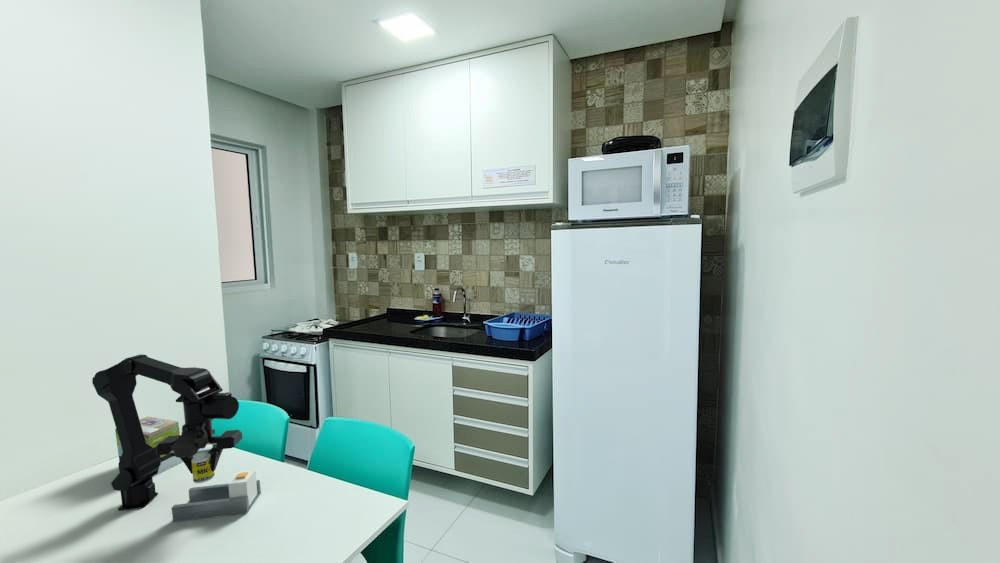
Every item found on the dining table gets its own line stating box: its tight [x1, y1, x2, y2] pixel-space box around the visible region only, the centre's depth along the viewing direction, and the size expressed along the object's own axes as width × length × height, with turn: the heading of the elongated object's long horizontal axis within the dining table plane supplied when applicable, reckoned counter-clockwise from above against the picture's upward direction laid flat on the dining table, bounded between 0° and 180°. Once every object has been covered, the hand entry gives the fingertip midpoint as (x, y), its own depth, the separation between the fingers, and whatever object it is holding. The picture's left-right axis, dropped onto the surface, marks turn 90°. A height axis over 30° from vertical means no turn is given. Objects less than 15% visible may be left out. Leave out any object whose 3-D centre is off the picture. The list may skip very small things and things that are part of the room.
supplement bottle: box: [191, 445, 216, 484], centre depth 112 cm, size 5×5×8 cm
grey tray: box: [171, 479, 262, 523], centre depth 113 cm, size 18×9×4 cm, turn 100°
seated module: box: [227, 469, 258, 505], centre depth 114 cm, size 4×6×8 cm
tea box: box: [115, 416, 184, 478], centre depth 135 cm, size 15×10×15 cm, turn 73°
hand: (203, 471), depth 112 cm, fingers closed on supplement bottle, 5 cm apart
